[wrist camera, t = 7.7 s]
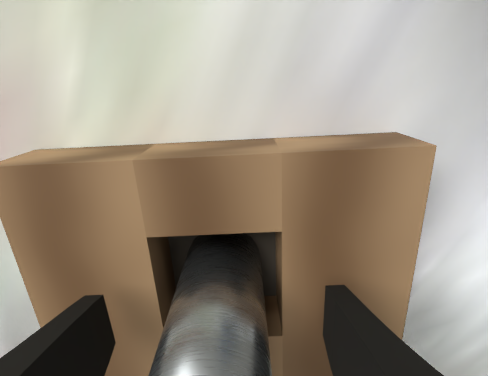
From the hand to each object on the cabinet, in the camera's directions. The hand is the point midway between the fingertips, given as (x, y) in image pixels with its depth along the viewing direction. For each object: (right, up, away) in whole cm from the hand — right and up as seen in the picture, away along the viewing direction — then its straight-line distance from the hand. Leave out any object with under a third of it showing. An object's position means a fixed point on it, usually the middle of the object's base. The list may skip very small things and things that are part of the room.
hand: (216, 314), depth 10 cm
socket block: (0, +1, +3) cm, 4 cm away
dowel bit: (0, +1, +3) cm, 4 cm away
